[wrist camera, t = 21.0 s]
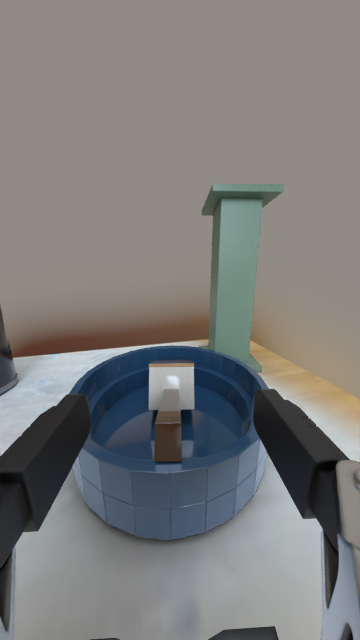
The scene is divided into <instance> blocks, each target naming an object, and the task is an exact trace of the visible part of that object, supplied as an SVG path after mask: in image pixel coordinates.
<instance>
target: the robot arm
mask: <svg viewBox="0 0 360 640" xmlns="http://www.w3.org/2000/svg"><path fill="white" fill-rule="evenodd" d="M17 381H18V377H17V373H16V372H15V368H14V363H13V358H12V354H11V349H10V345H9V340H8V336H7V331H6V327H5V322H4V319H3V314H2V309H1V305H0V394H2V393H4V392H5V391H7V390H9V389H10V388H12V387H13V386H14V385H15V384H16V383H17ZM253 422H254V427H255V430H256V432H257V434H258V436H259V438H260V440H261V442H262V443H263V445H264V447H265V449H266V451H267V453H268V455H269V456H270V458H271V460H272V462H273V464H274V466H275V468H276V470H277V471H278V473H279V475H280V477H281V479H282V481H283V483H284V484H285V486H286V488H287V490H288V492H289V494H290V496H291V497H292V499H293V501H294V503H295V505H296V507H297V509H298V510H299V512H300V514H301V516H302V518H303V519H311V518H317V520H318V522H319V523H320V525H321V527H322V530H321V568H322V632H321V640H360V462H357V461H353V460H350V459H349V458H348V457H347V456H346V455H345V454H344V453H343V452H342V451H341V450H340V449H339V448H338V447H337V446H336V445H335V444H334V443H333V442H332V441H331V440H330V439H329V438H328V437H327V436H326V435H325V434H324V433H323V431H322V430H321V429H320V428H319V427H316V424H315V423H314V422H313V421H312V420H311V419H309V418H308V416H307V415H306V414H305V413H304V412H303V411H302V410H301V409H300V408H299V407H298V406H296V405H295V404H293V403H291V402H290V401H288V400H284V399H283V398H282V397H281V396H280V395H279V393H278V392H277V391H276V390H274V389H258V390H257V391H256V394H255V403H254V414H253ZM90 428H91V419H90V412H89V404H88V397H87V395H86V394H67V395H66V396H65V397H64V398H63V399H62V400H61V401H60V403H59V404H58V405H57V406H53V407H51V408H50V409H48V410H47V411H45V412H44V413H42V414H41V415H40V416H39V417H38V418H37V419H36V420H35V421H34V422H33V423H32V424H31V426H30V427H28V428H27V429H26V430H25V431H24V432H23V433H22V436H20V437H19V438H18V439H17V440H16V441H15V442H14V443H13V444H12V445H11V446H10V447H9V448H8V449H7V450H6V451H5V452H4V453H3V454H2V455H1V456H0V640H14V608H15V567H16V549H15V545H16V543H17V541H18V540H19V538H20V536H21V534H22V533H23V532H32V531H38V530H39V529H40V527H41V525H42V523H43V521H44V519H45V517H46V515H47V513H48V512H49V510H50V508H51V506H52V504H53V502H54V500H55V498H56V496H57V495H58V493H59V491H60V489H61V487H62V485H63V483H64V481H65V479H66V478H67V476H68V474H69V472H70V470H71V468H72V466H73V464H74V462H75V461H76V459H77V457H78V455H79V453H80V451H81V449H82V447H83V445H84V444H85V442H86V440H87V438H88V436H89V433H90ZM92 640H119V639H117V638H106V639H92ZM208 640H279V639H278V636H277V632H276V629H275V626H272V627H258V628H244V629H230V630H223V631H221V632H220V633H218V634H217V635H215V636H213V637H212V638H210V639H208Z"/></svg>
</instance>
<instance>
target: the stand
mask: <svg viewBox="0 0 360 640" xmlns="http://www.w3.org/2000/svg"><path fill="white" fill-rule="evenodd" d="M283 186H284V185H274V184H270V185H267V184H213V185H212V187H211V190H210V192H209V194H208V197H207V200H206V202H205V204H204V207H203V209H202V215H213V235H212V236H213V237H212V262H211V263H212V264H211V289H210V290H211V291H210V319H209V344H208V346H199V348H203V349H208V350H213V351H216V352H220V353H223V354H226V355H228V356H231V357H233V358H235V359H237V360H239V361H241V362H243V363H244V364H246V365H247V366H249V367H251V368H252V369H253V370H254V371H255V372H262V366H261V365H260V364H259V363H258V362H257V361H256V360H255V359H254V357H253V356H252V355H251V354H250V353H249V346H250V334H251V324H252V313H253V301H254V290H255V279H256V268H257V257H258V245H259V235H260V224H261V213H262V208H263V207H264V206H265V205H267V204H268V203H269V202H270V201H272V200H273V199H274V198H276V197H277V196H278V195H279V194H280V193H282V192H283Z"/></svg>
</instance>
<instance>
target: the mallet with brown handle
mask: <svg viewBox="0 0 360 640" xmlns="http://www.w3.org/2000/svg"><path fill="white" fill-rule="evenodd" d="M186 409H195V406H194V363H193V362H192V361H191V360H154V361H153V362H151V363H150V364H149V410H158V413H157V417H156V421H155V440H154V461H155V462H179V461H182V423H181V410H186Z"/></svg>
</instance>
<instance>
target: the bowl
mask: <svg viewBox="0 0 360 640" xmlns="http://www.w3.org/2000/svg"><path fill="white" fill-rule="evenodd" d="M154 360H191V361H192V362H193V363H194V406H195V409H186V410H181V423H182V461H179V462H155V461H154V440H155V421H156V417H157V413H158V410H149V364H150V363H151V362H153V361H154ZM258 389H269V388H268V387H267V385H266V384H265V382H264V381H263V379H262V378H261V377H260V376H259V375H258V374H257V373H256V372H255V371H254V370H253V369H252V368H251V367H249V366H247V365H246V364H244V363H243V362H241V361H239V360H237V359H235V358H233V357H231V356H228V355H226V354H223V353H220V352H216V351H213V350H208V349H203V348H198V347H189V346H158V347H150V348H144V349H139V350H135V351H130V352H127V353H124V354H121V355H118V356H116V357H113V358H111V359H109V360H106V361H104V362H102V363H101V364H99V365H97V366H96V367H94V368H93V369H91V370H90V371H88V372H87V373H86V374H85V375H84V376H83V377H82V378H80V379H79V380H78V381H77V383H76V384H75V386H74V387H73V388H72V390H71V391H70V393H69V394H86V395H87V397H88V404H89V412H90V419H91V428H90V433H89V436H88V438H87V440H86V442H85V444H84V445H83V447H82V449H81V451H80V453H79V455H78V457H77V459H76V461H75V462H74V464H73V466H72V467H73V472H74V478H75V483H76V485H77V487H78V489H79V491H80V493H81V495H82V497H83V499H84V501H85V503H86V504H87V505H88V506H89V507H90V508H91V509H92V510H93V511H94V512H95V513H96V514H97V515H98V516H99V517H100V518H101V519H102V520H103V521H104V522H106V523H108V524H109V525H112V526H114V527H116V528H118V529H121V530H123V531H125V532H127V533H130V534H132V535H134V536H137V537H142V538H152V539H162V540H173V539H178V538H183V537H188V536H192V535H197V534H202V533H205V532H207V531H209V530H211V529H213V528H215V527H216V526H218V525H220V524H222V523H224V522H225V521H227V520H229V519H231V518H233V517H234V516H235V515H236V514H237V513H238V512H239V511H240V510H241V509H242V508H243V506H244V505H245V504H246V503H247V502H248V501H249V500H250V499H251V498H252V497H253V495H254V493H255V491H256V489H257V487H258V485H259V483H260V481H261V479H262V477H263V474H264V469H265V462H266V454H267V451H266V449H265V447H264V445H263V443H262V442H261V440H260V438H259V436H258V434H257V432H256V430H255V427H254V422H253V414H254V403H255V394H256V391H257V390H258Z"/></svg>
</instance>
